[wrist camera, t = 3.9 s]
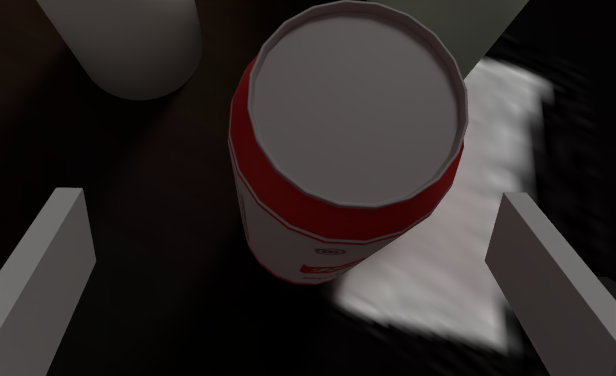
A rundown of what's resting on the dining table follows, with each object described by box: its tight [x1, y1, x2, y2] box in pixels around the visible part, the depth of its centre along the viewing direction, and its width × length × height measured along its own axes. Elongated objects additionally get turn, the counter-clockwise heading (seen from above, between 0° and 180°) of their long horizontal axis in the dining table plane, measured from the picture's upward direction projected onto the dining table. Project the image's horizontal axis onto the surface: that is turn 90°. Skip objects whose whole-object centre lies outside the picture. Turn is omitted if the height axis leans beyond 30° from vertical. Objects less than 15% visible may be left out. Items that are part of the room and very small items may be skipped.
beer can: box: [228, 0, 468, 285], centre depth 20 cm, size 6×6×16 cm
